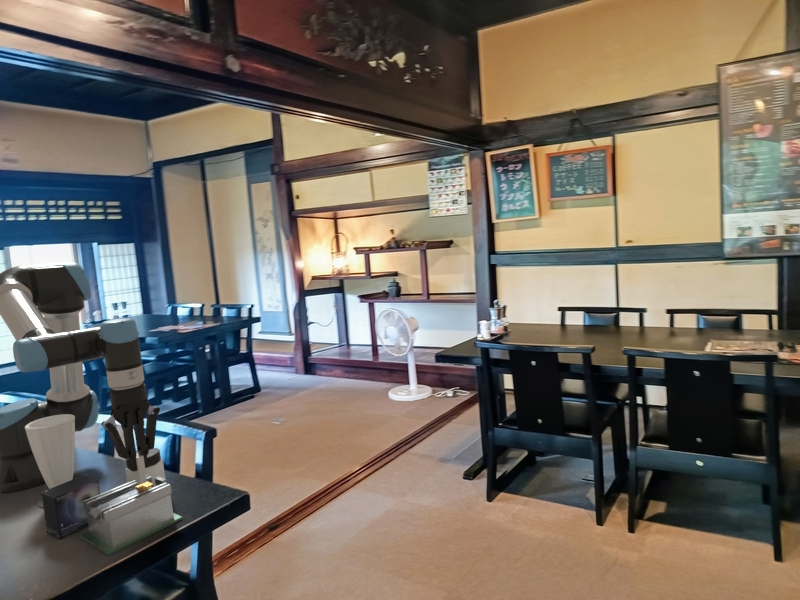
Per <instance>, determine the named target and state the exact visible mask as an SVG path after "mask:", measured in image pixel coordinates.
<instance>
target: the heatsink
mask: <svg viewBox="0 0 800 600" xmlns="http://www.w3.org/2000/svg"><path fill="white" fill-rule="evenodd" d="M146 478H147V481H148V482H150V483H152V477H151V476H148V475H146ZM152 484H153V483H152ZM138 485H140V484H139V483H137V482H135V480H133V481H131V482H128V483H127V482H126V483H124V484H121V485H119V486H116V487H114V488H111V489H109V490H107V491H104V492H102V493H101V492H100V494H99V495H96V496H94V497H91V498H89V499H87V500H84V501H83V507H84V511H86V509H87V508H88V507H90V506H92V507H94V508H96V507H98V506H100V505H102V504H104V503H106V502H109V501H111V500H113V499H115V498H117V497H119V496H122V495H124V494H126V493H128V492H130V491H132V490H134V489H136V486H138ZM155 485H156V487H153V488H151V489H149V490H146V491H144V492H142V493H139V494H137V495H135V496H132V497H130V498H128V499H126V500H123V501H121V502H119V503H116V504H114V505H112V506H109V507H107V508H105V509H102V510H100V515H101V519H99V520H96V519H94V518H91V517H89V516H87V520H88V526H87V527H88V531H87V532H85V533H83V534H81V535H80V538H81V540H83V541H85V542H87V543H88V544H89V545H91V546H93V547H95V548H96V549H98V550H99V551H101V552H102V553H104V554H105V555H108V556H112V555H114V554H116V553H117V552H120V551H121V550H123V549H126V548H128V547H129V546H131V545H134V544H136V543H137V542H139V541H142V540H143V539H146V538H148V537H150V536H151V535H154V534H156V533H157V532H159V531H162V530H163V529H166V528H167V527H169V526H171V525H174V524H176V523H178V522H180V521H182V520H183V516H181V515H179V514H177V513H175V512H174V510H173V502H172V496H171V495H172V493H173V492H172V486H171V484H170V483H167V479H166V478H165V479H164V478H161V477H159V476H158V477H156V478H155Z"/></svg>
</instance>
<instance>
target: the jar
mask: <svg viewBox="0 0 800 600" xmlns="http://www.w3.org/2000/svg"><path fill="white" fill-rule="evenodd" d="M136 454H139V452H138V451H137V450H136ZM147 459H148V466H147V467H145V471H146V475H148V476H151V477H152V483H153V485H154V487H156V485H155V478H156V477H158V476H159V477H161V478H164V479H166V474H165V467H164V459H163V458H162V457H161V450H160V449H159V448H157V447H154V448H153V449H150V450H149V454H148V455H147ZM125 462H126V468H124V469H125V470H124V471H125V477H126V481H127V482H126V483H128V482H131V481H133V480H135V476H134V472H133V471H131V470H130V469H129V462H128V458H127V459H125Z"/></svg>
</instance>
